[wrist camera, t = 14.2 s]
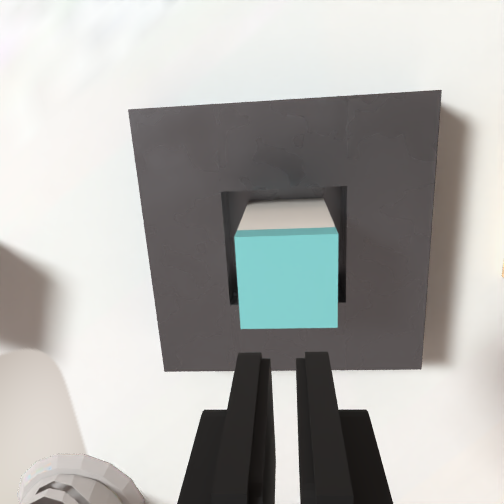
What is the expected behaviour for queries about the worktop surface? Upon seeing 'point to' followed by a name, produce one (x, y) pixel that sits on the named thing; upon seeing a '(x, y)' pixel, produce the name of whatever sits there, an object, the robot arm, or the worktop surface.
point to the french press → (76, 482)
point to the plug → (287, 265)
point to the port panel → (290, 187)
